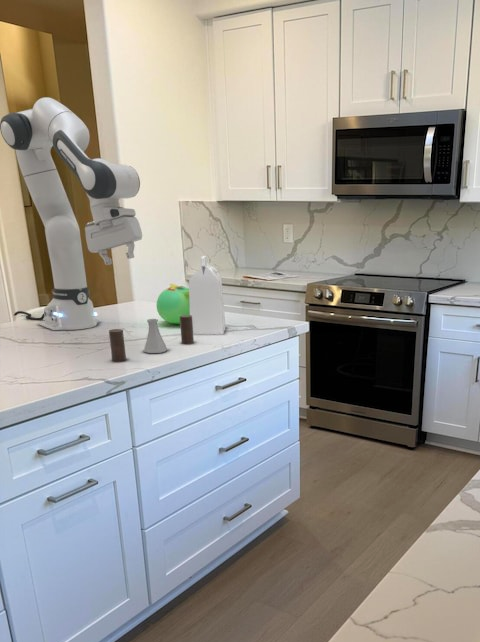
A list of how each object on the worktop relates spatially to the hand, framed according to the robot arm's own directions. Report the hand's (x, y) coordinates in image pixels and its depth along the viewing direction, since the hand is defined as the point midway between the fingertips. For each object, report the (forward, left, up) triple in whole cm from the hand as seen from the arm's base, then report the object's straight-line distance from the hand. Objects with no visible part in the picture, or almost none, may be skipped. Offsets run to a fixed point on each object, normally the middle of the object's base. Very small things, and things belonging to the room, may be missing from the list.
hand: (119, 261), depth 192 cm
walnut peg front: (+15, -16, -26) cm, 34 cm away
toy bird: (-10, +33, -27) cm, 44 cm away
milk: (+7, +30, -27) cm, 41 cm away
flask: (+15, -2, -27) cm, 31 cm away
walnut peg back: (+15, +12, -26) cm, 33 cm away
